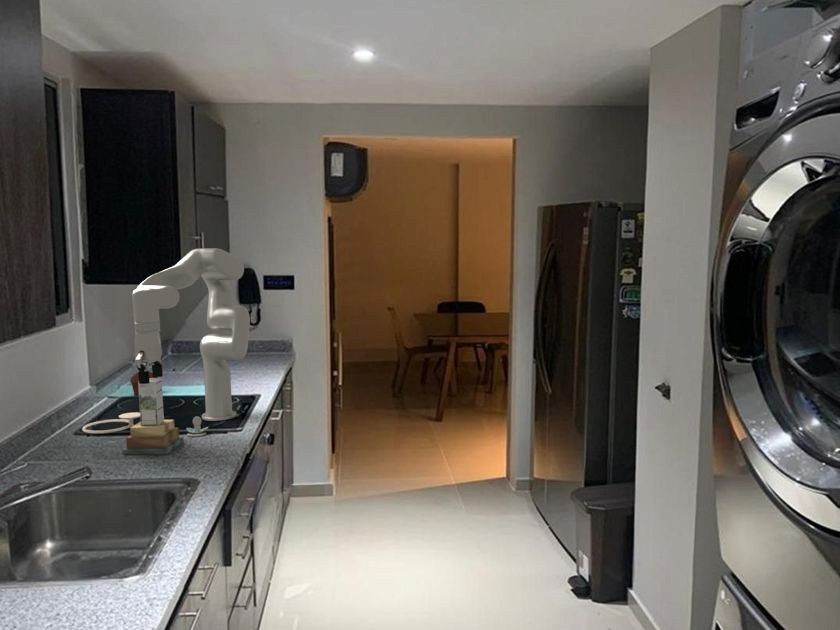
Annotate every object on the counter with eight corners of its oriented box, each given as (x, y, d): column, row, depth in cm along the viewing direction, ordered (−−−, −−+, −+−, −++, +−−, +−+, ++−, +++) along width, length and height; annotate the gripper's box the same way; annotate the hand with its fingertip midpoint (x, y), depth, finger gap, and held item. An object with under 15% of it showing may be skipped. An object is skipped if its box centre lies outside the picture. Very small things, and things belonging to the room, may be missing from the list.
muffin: (164, 392, 312) (162, 369, 311) (152, 397, 301) (150, 374, 300) (138, 391, 313) (137, 369, 312) (125, 397, 302) (124, 374, 301)
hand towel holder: (90, 411, 261) (148, 409, 264) (90, 423, 261) (148, 420, 264) (74, 423, 244) (136, 420, 247) (75, 435, 245) (137, 432, 248)
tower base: (142, 441, 236) (141, 417, 235) (183, 441, 235) (182, 418, 234) (122, 454, 222) (121, 429, 221) (166, 454, 221) (164, 429, 220)
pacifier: (206, 437, 241) (209, 432, 247) (205, 419, 240) (208, 414, 246) (184, 438, 240) (188, 432, 246) (183, 420, 239) (187, 415, 245)
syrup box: (164, 421, 230) (162, 377, 229) (157, 425, 224) (155, 381, 223) (147, 421, 230) (144, 377, 229) (139, 426, 225) (137, 381, 223)
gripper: (147, 323, 233) (151, 374, 235) (122, 331, 216) (127, 386, 218) (170, 323, 232) (173, 374, 235) (146, 331, 215) (150, 386, 218)
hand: (151, 380), depth 226 cm, fingers open, 9 cm apart
